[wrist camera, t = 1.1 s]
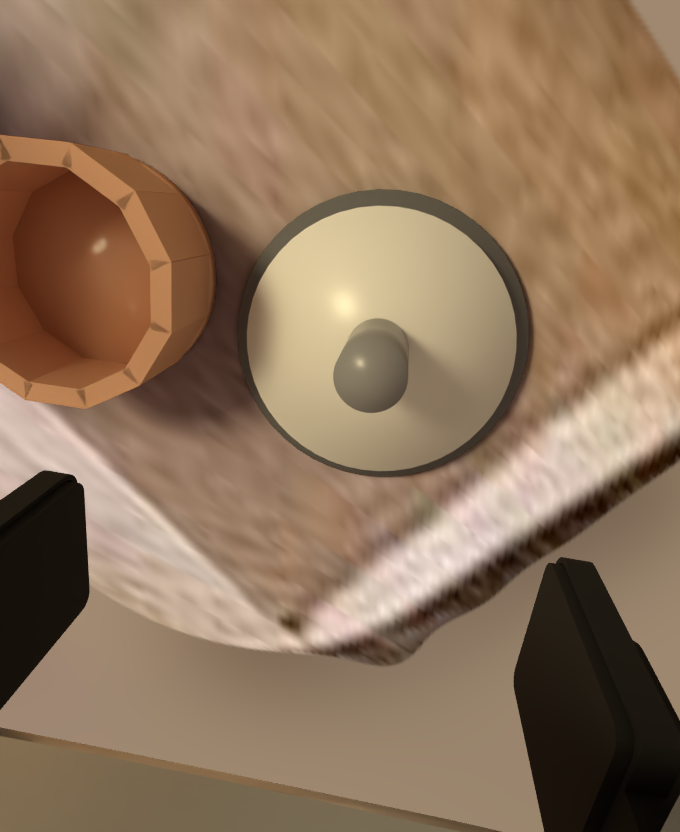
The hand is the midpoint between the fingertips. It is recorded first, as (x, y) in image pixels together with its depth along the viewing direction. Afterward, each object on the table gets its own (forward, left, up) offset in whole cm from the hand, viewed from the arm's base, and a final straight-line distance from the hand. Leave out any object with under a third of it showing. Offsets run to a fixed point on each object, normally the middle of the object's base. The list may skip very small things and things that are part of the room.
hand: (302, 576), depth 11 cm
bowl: (-3, -14, -19) cm, 23 cm away
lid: (-1, 0, -18) cm, 18 cm away
